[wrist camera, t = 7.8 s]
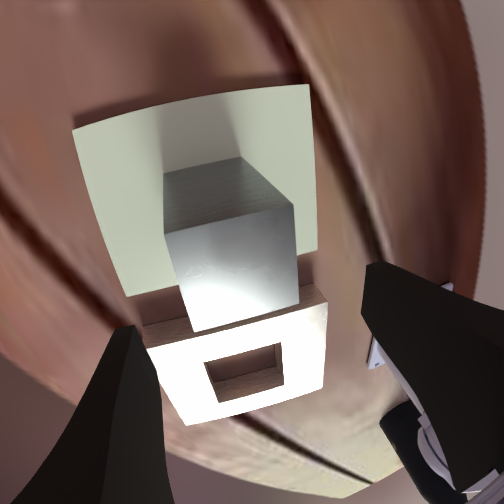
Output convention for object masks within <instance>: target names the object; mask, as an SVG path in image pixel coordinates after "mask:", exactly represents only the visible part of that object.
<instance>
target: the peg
mask: <svg viewBox="0 0 504 504" xmlns="http://www.w3.org/2000/svg"><path fill="white" fill-rule="evenodd" d="M163 227H164V237H165V241H166V244H167V248H168V251H169V255H170V258H171V261H172V265H173V268H174V271H175V274H176V278H177V281H178V284H179V287H180V290H181V293H182V297H183V300H184V303H185V306H186V309H187V312H188V315H189V318H190V321H191V323H192V326H193V329H194V332H196V331H200V330H204V329H208V328H212V327H216V326H220V325H224V324H228V323H232V322H235V321H239V320H243V319H247V318H250V317H254V316H258V315H261V314H265V313H268V312H272V311H276V310H279V309H282V308H286V307H289V306H293V305H296V304H299V288H298V268H297V250H296V234H295V218H294V204H292V203H291V202H290V201H289V200H288V199H287V198H286V197H285V196H284V195H283V194H282V193H281V192H280V191H279V190H278V189H277V188H275V187H274V186H273V185H272V184H271V183H270V182H269V181H268V180H267V179H266V178H265V177H264V176H262V175H261V174H260V173H259V172H258V171H257V170H256V169H255V168H254V167H253V166H251V165H250V164H249V163H248V162H247V161H246V160H245V159H244V158H242V157H236V158H231V159H226V160H221V161H216V162H212V163H207V164H202V165H198V166H193V167H189V168H184V169H180V170H176V171H172V172H168V173H164V174H163Z"/></svg>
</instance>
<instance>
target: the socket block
mask: <svg viewBox="0 0 504 504" xmlns="http://www.w3.org/2000/svg"><path fill="white" fill-rule="evenodd" d="M298 288H299V304H296V305H293V306H289V307H286V308H282V309H279V310H276V311H272V312H268V313H265V314H261V315H258V316H254V317H250V318H247V319H243V320H239V321H235V322H232V323H228V324H224V325H220V326H216V327H212V328H208V329H204V330H200V331H196V332H194V329H193V326H192V323H191V321H190V318H189V316H186V317H181V318H177V319H173V320H169V321H164V322H160V323H156V324H151V325H147V326H143V343H144V345H145V347H146V350H147V352H148V353H149V355H150V357H151V359H152V361H153V363H154V365H155V367H156V369H157V374H158V379H159V381H160V383H161V385H162V386H163V388H164V390H165V392H166V393H167V395H168V397H169V399H170V400H171V402H172V404H173V405H174V407H175V409H176V410H177V412H178V413H179V415H180V417H181V418H182V420H183V421H184V423H185V425H191V424H196V423H201V422H205V421H210V420H214V419H219V418H223V417H227V416H231V415H235V414H239V413H243V412H246V411H250V410H254V409H257V408H261V407H264V406H268V405H271V404H274V403H278V402H281V401H284V400H287V399H290V398H293V397H297V396H300V395H303V394H305V393H308V392H311V391H314V390H317V389H320V388H322V384H323V372H324V359H325V345H326V328H327V308H328V301H327V300H326V299H325V297H324V296H323V294H322V293H321V292H320V290H319V289H318V288H317V286H316V285H315V284H314V283H312V284H308V285H305V286H301V287H298ZM273 343H274V348H275V357H276V366H273V367H270V368H267V369H263V370H260V371H256V372H253V373H249V374H245V375H242V376H238V377H234V378H230V379H226V380H222V381H218V382H214V383H213V380H212V378H211V375H210V372H209V370H208V367H207V364H206V361H209V360H213V359H217V358H221V357H225V356H229V355H233V354H237V353H241V352H244V351H248V350H252V349H255V348H259V347H262V346H266V345H269V344H273Z"/></svg>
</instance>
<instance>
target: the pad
mask: <svg viewBox="0 0 504 504" xmlns="http://www.w3.org/2000/svg"><path fill="white" fill-rule="evenodd" d="M72 133H73V137H74V141H75V145H76V149H77V153H78V157H79V161H80V164H81V168H82V172H83V175H84V179H85V182H86V186H87V189H88V192H89V196H90V199H91V202H92V205H93V208H94V211H95V214H96V217H97V220H98V223H99V226H100V229H101V232H102V235H103V238H104V241H105V243H106V246H107V249H108V251H109V254H110V257H111V259H112V262H113V265H114V267H115V270H116V272H117V275H118V277H119V280H120V282H121V285H122V287H123V289H124V292H125V294H126V297H129V296H133V295H137V294H141V293H146V292H150V291H154V290H158V289H162V288H167V287H171V286H175V285H179V284H178V281H177V278H176V274H175V271H174V268H173V265H172V261H171V258H170V255H169V251H168V248H167V244H166V241H165V237H164V227H163V174H164V173H168V172H172V171H176V170H180V169H184V168H189V167H193V166H198V165H202V164H207V163H212V162H216V161H221V160H226V159H231V158H236V157H242V158H244V159H245V160H246V161H247V162H248V163H249V164H250V165H251V166H253V167H254V168H255V169H256V170H257V171H258V172H259V173H260V174H261V175H262V176H264V177H265V178H266V179H267V180H268V181H269V182H270V183H271V184H272V185H273V186H274V187H275V188H277V189H278V190H279V191H280V192H281V193H282V194H283V195H284V196H285V197H286V198H287V199H288V200H289V201H290V202H291V203H292V204H294V218H295V234H296V250H297V255H300V254H304V253H308V252H312V251H316V250H317V206H316V180H315V160H314V144H313V129H312V116H311V103H310V92H309V84H300V85H286V86H274V87H264V88H255V89H246V90H239V91H231V92H225V93H218V94H212V95H206V96H200V97H195V98H190V99H185V100H180V101H175V102H170V103H166V104H161V105H157V106H153V107H148V108H144V109H140V110H137V111H133V112H129V113H125V114H122V115H118V116H115V117H111V118H108V119H104V120H101V121H98V122H95V123H92V124H89V125H85V126H82V127H80V128H77V129H74V130H72Z"/></svg>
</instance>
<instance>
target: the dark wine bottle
mask: <svg viewBox="0 0 504 504" xmlns="http://www.w3.org/2000/svg"><path fill="white" fill-rule="evenodd" d="M421 416H422V414H421V413H420V412H419V410H418V409H417V407H416V406H415V404H414V403H413V402H412V401H407V402H404V403H402V404H400V405H399V406H397V407H395V408H394V409H392V410H391V411H390V412H389V413H387V414H386V415H385V416H384V417H383V419H382V420H381V421H380V427H381V428H382V430H383V432H384V433H385V435H386V436H387V438H388V440H389V441H390V443H391V445H392V446H393V448H394V450H395V451H396V453H397V455H398V456H399V458H400V460H401V462H402V463H403V465H404V467H405V468H406V470H407V471H408V473H409V475H410V477H411V478H412V480H413V482H414V483H415V485H416V487H417V489H418V490H419V492H420V494H421V495H422V496H423V497H424V499H426V501H427V502H428V503H429V504H465V503H466V502H468V500H467V496H466V493H461V494H458V493H457V491H456V490H455V489H453V488H452V487H451V485H450V484H449V483H448V482H447V481H446V480H445V479H444V478H443V477H441V476H440V475H438V474H437V473H436V472H435V471H434V470H433V469H432V468H431V467H430V466H429V465H428V463H427V462H426V460H425V459H424V457H423V455H422V454H421V451H420V449H419V446H418V430H419V429H420V427H422V425H421V424H420V422H419V421H418V418H420V417H421Z"/></svg>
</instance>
